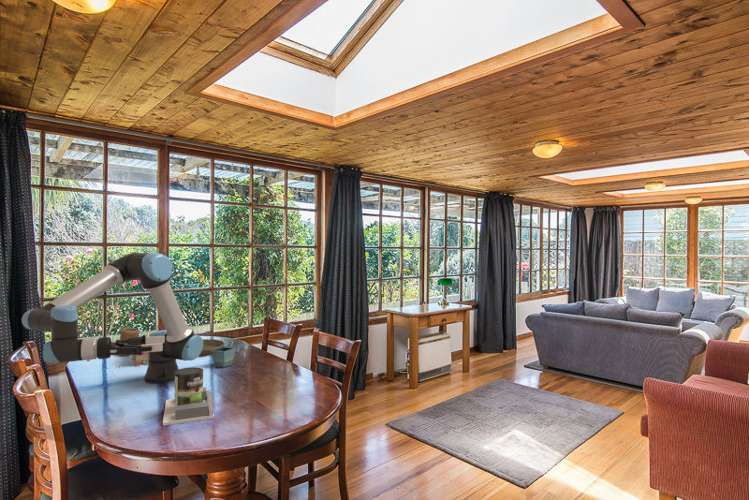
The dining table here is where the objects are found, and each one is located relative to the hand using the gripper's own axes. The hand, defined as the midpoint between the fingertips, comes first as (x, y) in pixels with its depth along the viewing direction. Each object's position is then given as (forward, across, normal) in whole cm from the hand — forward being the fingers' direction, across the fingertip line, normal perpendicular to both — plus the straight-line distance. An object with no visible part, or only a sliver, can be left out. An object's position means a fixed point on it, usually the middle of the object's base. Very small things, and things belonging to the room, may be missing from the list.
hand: (163, 343), depth 163 cm
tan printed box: (-16, -87, -28) cm, 93 cm away
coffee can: (+9, 0, -26) cm, 27 cm away
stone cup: (-25, -109, -28) cm, 115 cm away
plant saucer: (+13, -99, -28) cm, 104 cm away
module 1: (+10, +9, -26) cm, 29 cm away
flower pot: (+25, -60, -28) cm, 71 cm away
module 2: (+10, -9, -26) cm, 29 cm away
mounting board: (+9, 0, -27) cm, 28 cm away
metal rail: (+16, 0, -26) cm, 30 cm away
